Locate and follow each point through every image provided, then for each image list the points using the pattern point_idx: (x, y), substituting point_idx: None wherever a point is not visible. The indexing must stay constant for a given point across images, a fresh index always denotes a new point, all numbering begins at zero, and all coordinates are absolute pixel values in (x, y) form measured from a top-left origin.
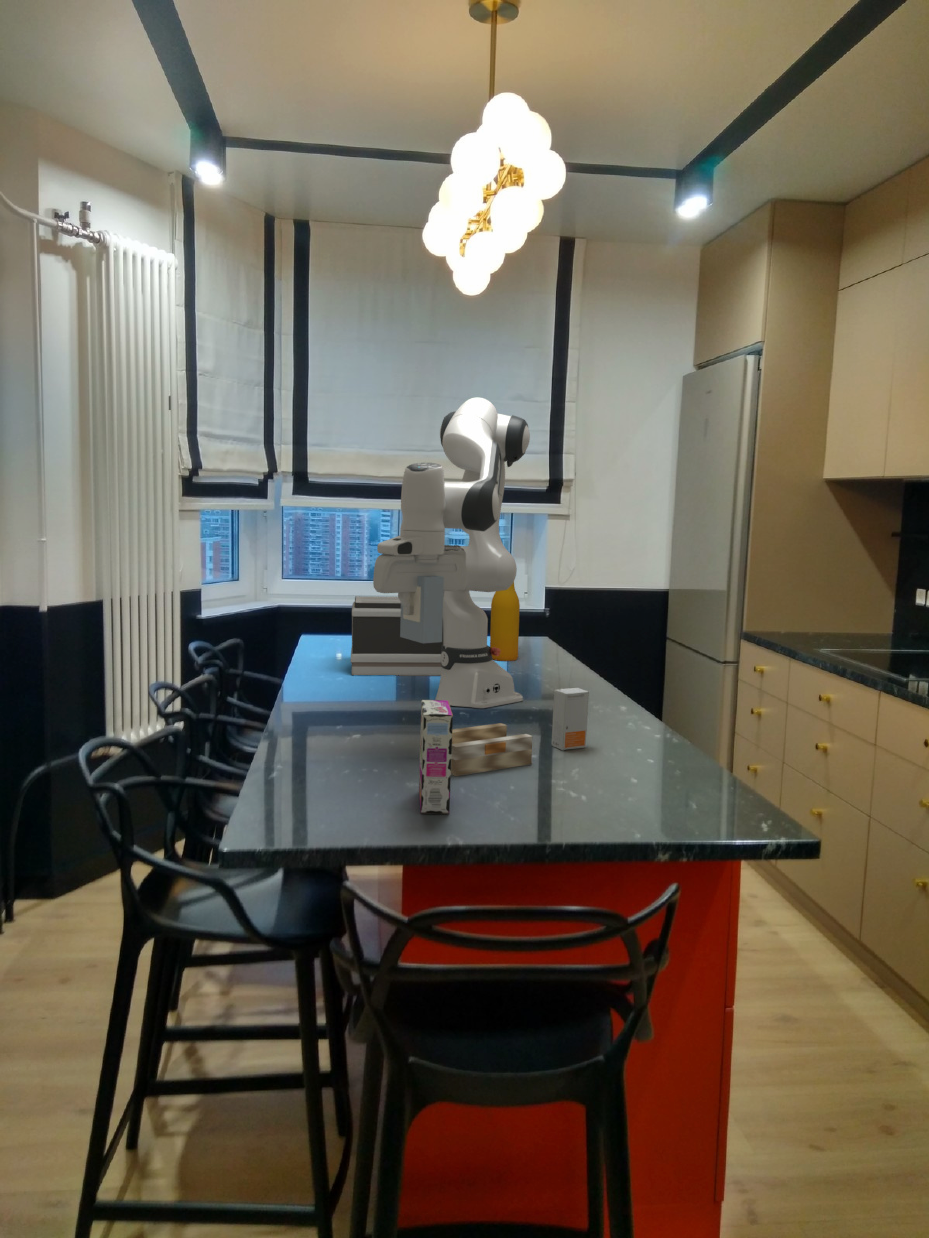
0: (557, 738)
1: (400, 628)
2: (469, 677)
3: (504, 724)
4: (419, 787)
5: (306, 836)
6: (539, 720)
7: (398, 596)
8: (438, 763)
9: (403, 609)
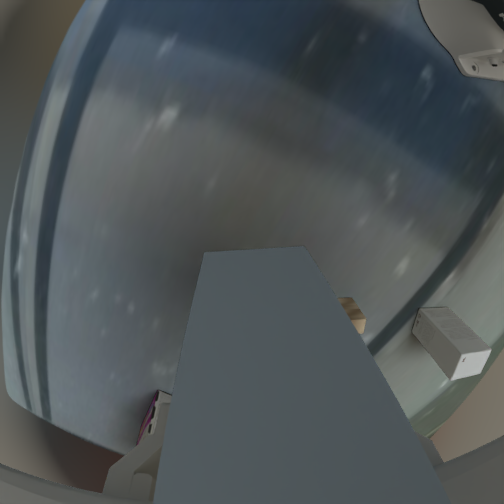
0: (420, 327)
1: (200, 269)
2: (485, 41)
3: (364, 327)
4: (146, 417)
5: (50, 411)
6: (490, 186)
7: (110, 475)
8: None
9: (159, 421)
